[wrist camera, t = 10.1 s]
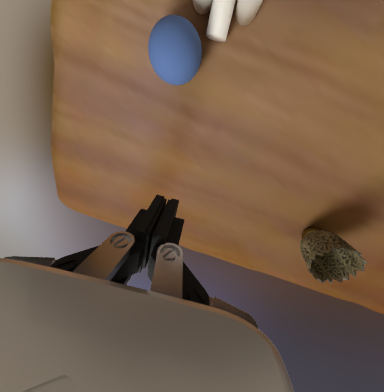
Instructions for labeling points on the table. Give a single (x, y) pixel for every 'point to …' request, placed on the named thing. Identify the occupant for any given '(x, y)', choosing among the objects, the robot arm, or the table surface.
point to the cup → (329, 255)
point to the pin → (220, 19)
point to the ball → (175, 49)
